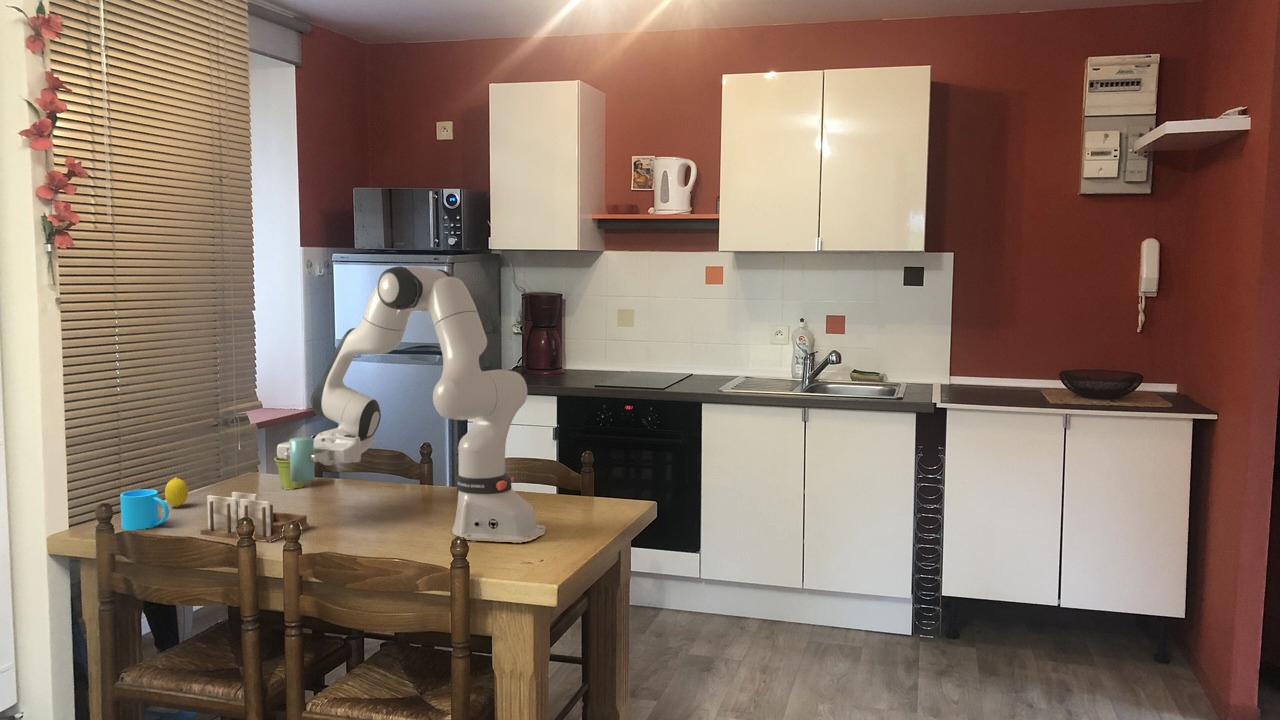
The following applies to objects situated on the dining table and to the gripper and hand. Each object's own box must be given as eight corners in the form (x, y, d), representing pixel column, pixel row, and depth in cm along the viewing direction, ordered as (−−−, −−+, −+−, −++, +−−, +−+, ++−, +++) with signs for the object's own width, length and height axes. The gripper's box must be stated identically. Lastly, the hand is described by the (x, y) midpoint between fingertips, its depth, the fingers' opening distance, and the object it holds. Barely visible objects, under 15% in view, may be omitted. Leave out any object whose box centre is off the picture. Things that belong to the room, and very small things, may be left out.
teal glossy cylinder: (319, 477, 249) (318, 437, 248) (304, 482, 243) (303, 441, 242) (300, 475, 250) (299, 436, 249) (285, 480, 245) (284, 440, 244)
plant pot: (300, 491, 282) (300, 461, 282) (269, 490, 284) (268, 460, 283) (315, 484, 292) (314, 454, 291) (284, 483, 293) (284, 453, 292)
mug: (113, 529, 243) (112, 496, 242) (137, 520, 251) (136, 488, 250) (157, 532, 240) (156, 499, 239) (180, 523, 248) (178, 491, 247)
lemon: (169, 511, 260) (168, 480, 259) (162, 507, 264) (161, 477, 263) (191, 507, 263) (190, 477, 262) (184, 503, 267) (183, 474, 267)
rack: (308, 527, 246) (307, 491, 245) (270, 542, 233) (269, 504, 232) (241, 519, 252) (240, 484, 251) (200, 534, 239) (199, 496, 238)
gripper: (294, 433, 261) (262, 442, 248) (365, 437, 256) (336, 447, 243) (295, 456, 262) (262, 467, 248) (366, 461, 257) (336, 473, 243)
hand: (299, 457), depth 245 cm, fingers closed on teal glossy cylinder, 6 cm apart
